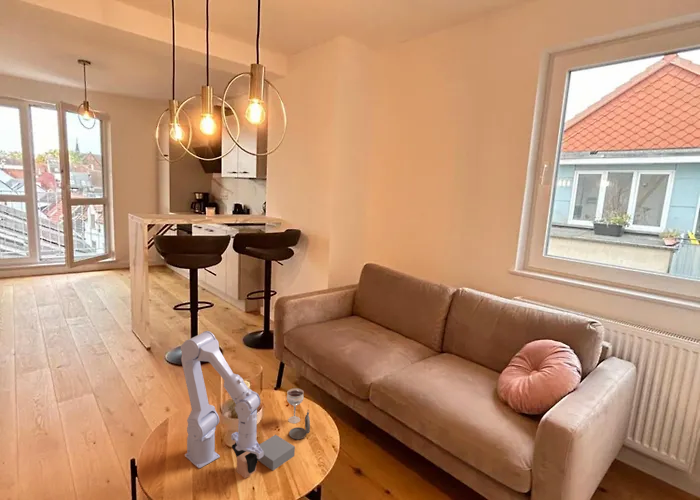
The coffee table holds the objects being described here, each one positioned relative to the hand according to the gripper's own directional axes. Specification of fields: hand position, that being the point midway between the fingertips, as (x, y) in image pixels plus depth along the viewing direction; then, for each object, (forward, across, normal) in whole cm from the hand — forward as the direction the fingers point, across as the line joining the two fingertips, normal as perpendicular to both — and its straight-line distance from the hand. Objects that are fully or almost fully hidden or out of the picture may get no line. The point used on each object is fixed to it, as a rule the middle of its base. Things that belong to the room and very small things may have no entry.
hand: (246, 467), depth 130 cm
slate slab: (+2, +1, +11) cm, 11 cm away
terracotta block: (+2, 0, 0) cm, 2 cm away
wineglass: (+2, -10, +31) cm, 33 cm away
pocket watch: (+2, -1, +26) cm, 26 cm away
